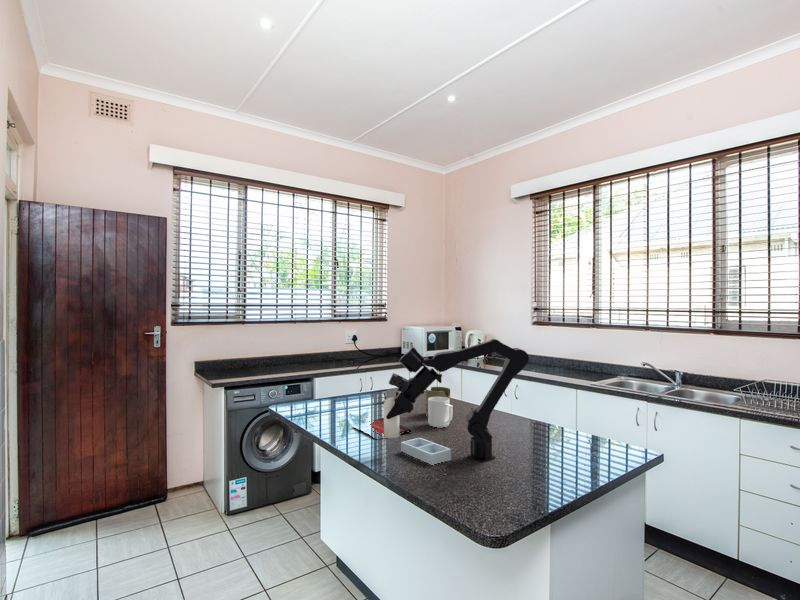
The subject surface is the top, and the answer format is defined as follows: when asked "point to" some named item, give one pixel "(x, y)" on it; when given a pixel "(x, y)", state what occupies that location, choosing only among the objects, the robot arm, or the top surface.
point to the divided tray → (426, 450)
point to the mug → (439, 412)
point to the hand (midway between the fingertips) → (387, 415)
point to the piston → (436, 395)
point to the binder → (379, 426)
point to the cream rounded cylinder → (390, 420)
